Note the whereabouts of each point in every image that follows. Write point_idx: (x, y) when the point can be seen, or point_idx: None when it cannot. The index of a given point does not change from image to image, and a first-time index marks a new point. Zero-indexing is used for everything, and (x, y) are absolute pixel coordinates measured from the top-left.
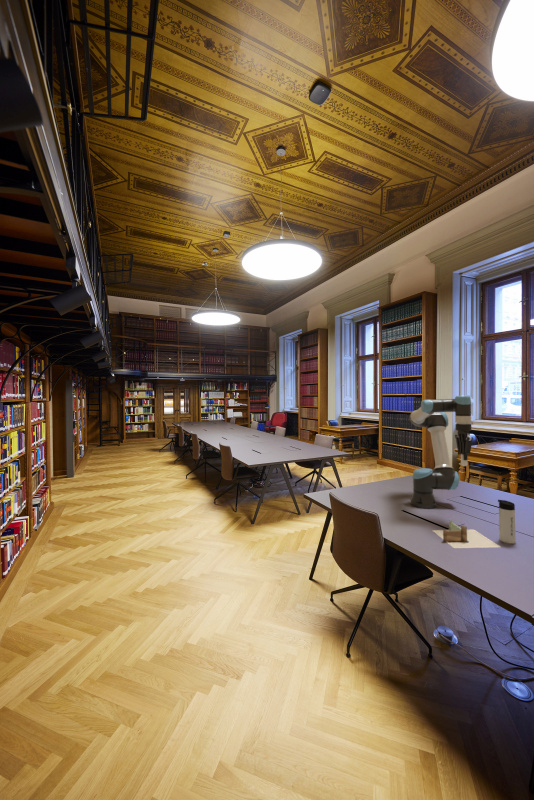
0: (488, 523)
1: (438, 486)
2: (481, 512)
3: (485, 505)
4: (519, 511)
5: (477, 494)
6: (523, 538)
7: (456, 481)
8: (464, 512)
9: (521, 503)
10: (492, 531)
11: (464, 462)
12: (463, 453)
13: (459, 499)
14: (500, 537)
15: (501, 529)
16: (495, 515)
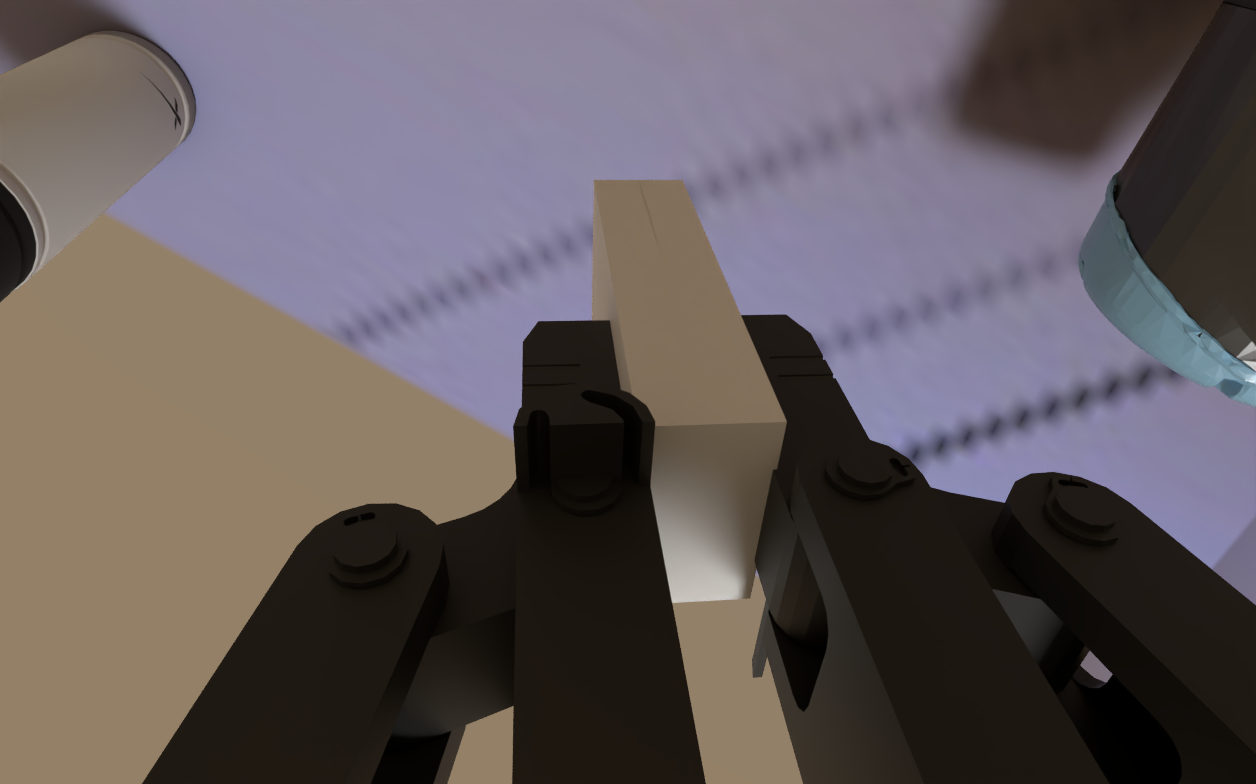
0: (566, 208)
1: (1220, 15)
2: (806, 304)
3: (928, 417)
4: None
5: (1139, 492)
6: (260, 274)
7: (1115, 283)
8: (844, 164)
9: None
10: (382, 125)
11: (603, 299)
12: (553, 489)
13: None
14: (97, 40)
15: (35, 61)
16: None
